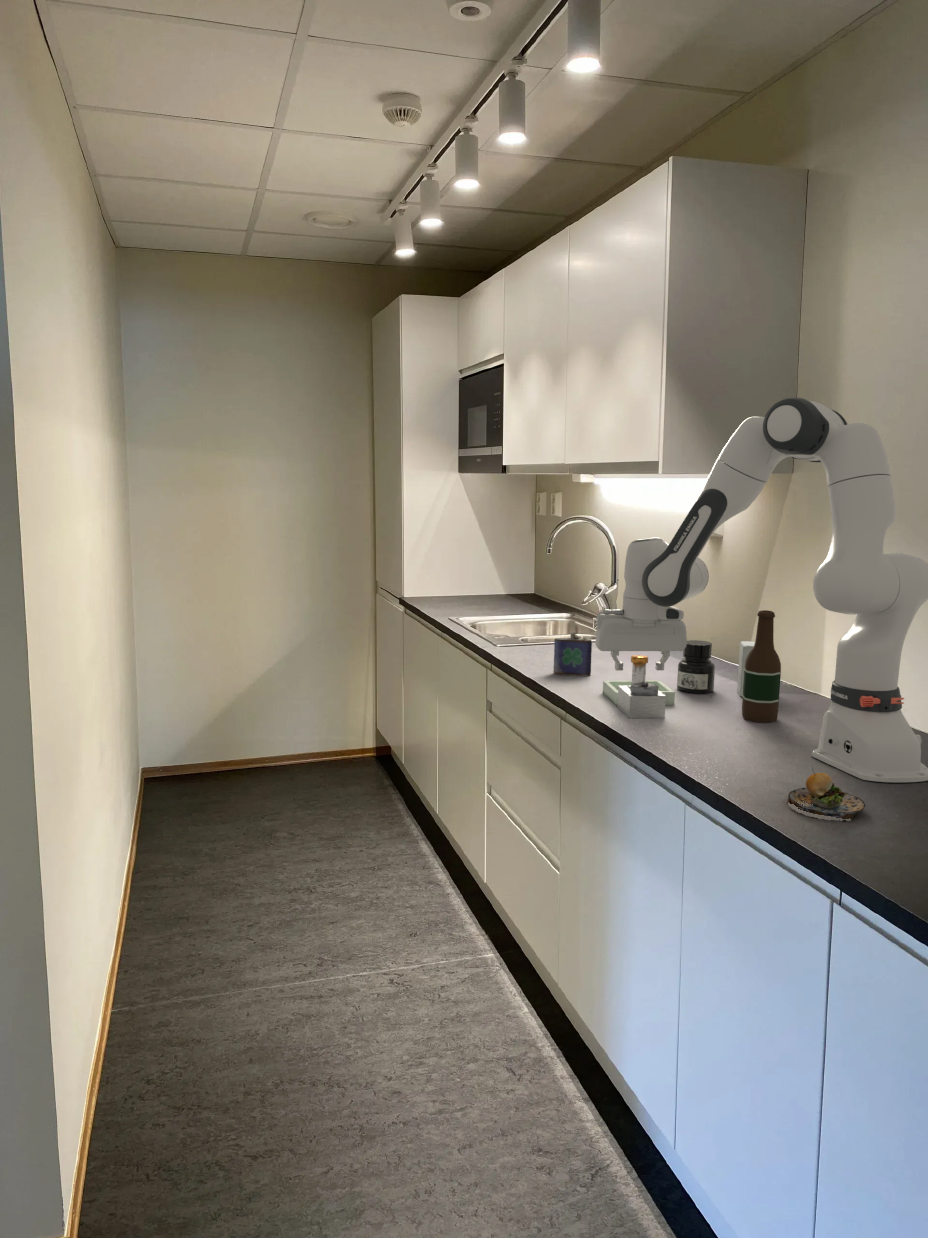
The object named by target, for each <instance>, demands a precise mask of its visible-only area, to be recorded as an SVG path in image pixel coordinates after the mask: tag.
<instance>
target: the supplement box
mask: <svg viewBox="0 0 928 1238" xmlns="http://www.w3.org/2000/svg"><path fill="white" fill-rule="evenodd" d="M754 644H755V641H749V640H747V641H743V640H742V641H740V643H739V656H738V657H739V659H738V670H737V671H738V672H737V673H738V675H737V689H736V691H737V693H738V694H739V696H740V697H741V698H743V684H744V668H745V661H746V658H747V656H748V654H749V652H750V651H751V650H752V648H753V647H754Z"/></svg>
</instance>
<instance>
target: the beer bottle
mask: <svg viewBox="0 0 928 1238" xmlns="http://www.w3.org/2000/svg"><path fill="white" fill-rule="evenodd" d="M756 614H757V617H758V620H757V626H756V635H755V641H754V642H755V644H754V647H753V648H752V650H751V651H750V652H749V654H748V656H747V658H746V661H745V668H744V684H743V697H742V701H741V702H742V703H741V704H742V705H741V715H742V718H743V719H744V720H745V721H750V722H752V723H753V722H754V723H761V724H762V723H763V724H770V723H774V722H777V720H778V715H779V703H780V690H781V687H780V686H781V678H782V677H781V675H782V663H781V659H780V657H779V655H778V653H777V650H775V643H774V631H775V630H774V629H775V628H774V627H775V625H774V623H775V622H774V621H775V620H774V619H775V617H776V614H775V612H774V611H772V610H768V609H767V610H763V609H762V610H759V611H758V612H757V613H756Z"/></svg>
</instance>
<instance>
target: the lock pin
mask: <svg viewBox="0 0 928 1238" xmlns="http://www.w3.org/2000/svg"><path fill="white" fill-rule="evenodd" d="M630 662H631V664H632V667H631V668H632V670H631V672H632V674H631V681H632V684H634V683H641V682H645V680H646V674H647V664H648V663H649V656H648V655H647V656H646V655H641V654H635V655H633V654H632V655H631V656H630Z"/></svg>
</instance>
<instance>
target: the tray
mask: <svg viewBox="0 0 928 1238" xmlns="http://www.w3.org/2000/svg"><path fill="white" fill-rule="evenodd" d="M645 682H648V683H650V684H655V685H657V686H658V690H659V691H660V692H662V693H663V694H664V695H665V696H666V702H665V706H667V705H669V706H670V705H675V701H676V700H675V698H676V696H675V694H676V691H674V690H673V689H672V688H670V687H669V686H667V685H666V684H664V682H662V681H661V680H659V679H658V680H651V679H650V680H647V679H645ZM631 684H632V680H603V681H602V694H603V695H604V696H605V697H606V698H607V699H609V700H610V702H612V704H614V706H617V701H618V686H631Z"/></svg>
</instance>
